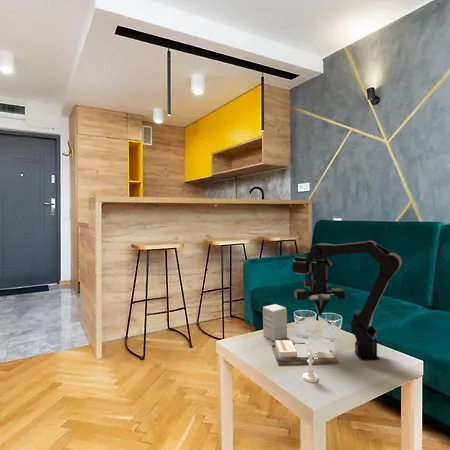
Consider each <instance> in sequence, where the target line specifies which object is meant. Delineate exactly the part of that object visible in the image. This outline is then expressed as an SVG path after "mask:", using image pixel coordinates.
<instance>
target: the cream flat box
mask: <svg viewBox="0 0 450 450" xmlns="http://www.w3.org/2000/svg"><path fill="white" fill-rule="evenodd" d="M274 343H276V349H277V352H278V354H279V357H297V350H296V348H295V347H294V345H293V343H294V342H293V341H292V340H291V339H279V340H276V341H274Z"/></svg>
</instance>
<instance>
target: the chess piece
mask: <svg viewBox="0 0 450 450" xmlns="http://www.w3.org/2000/svg"><path fill="white" fill-rule="evenodd" d="M307 355H308V358H309V359H308V360H307V362H308V363H309V364H308V367H307V371H306V372H304V373H303V374H302V380H303V381H305V382H308V383H316V382H318V381H319V376H318V374H317V373H315V372H314V369H313V364H312V363H313V362H314V361H313V360H312V358H313V355H314V354H313V353H311V347H310V352H308V353H307Z"/></svg>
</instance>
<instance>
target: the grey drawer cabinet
mask: <svg viewBox="0 0 450 450" xmlns="http://www.w3.org/2000/svg"><path fill="white" fill-rule="evenodd" d="M262 325H263V327H262V329H263V332H262V333H263V337H265V338H267V339H269V340H271V341H272V342H275V341H276V340H283V339H286V338H288V309H287V307H285V306H282V305H279V304H277V303H274V304H270V305H265V306H262Z"/></svg>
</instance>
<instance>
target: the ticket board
mask: <svg viewBox="0 0 450 450" xmlns="http://www.w3.org/2000/svg"><path fill="white" fill-rule="evenodd" d="M292 343H293V345H295V344H306V343H305V342H292ZM271 349H272V351H273V354H274V357H275V360H276V363H277V366H285V365H286V366H288V365H290V366H291V365H292V366H293V365H294V366H295V365H309V363H308V362H307V360H308V359H309V358H308V357H279V354H278V352H277V349H276V342H274V343H272V344H271ZM312 353H313V352H312ZM332 353H333V352H332ZM332 353H325V352H318V353H313V354H314V357H315V358H318V359H314V357H313V358H312V360H313V361H314V362H313V363H312V365H326V364H327V365H328V364H329V365H330V364H339V359H338V358H337V356H336V355H335V354H334V353H333V354H332Z"/></svg>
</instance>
